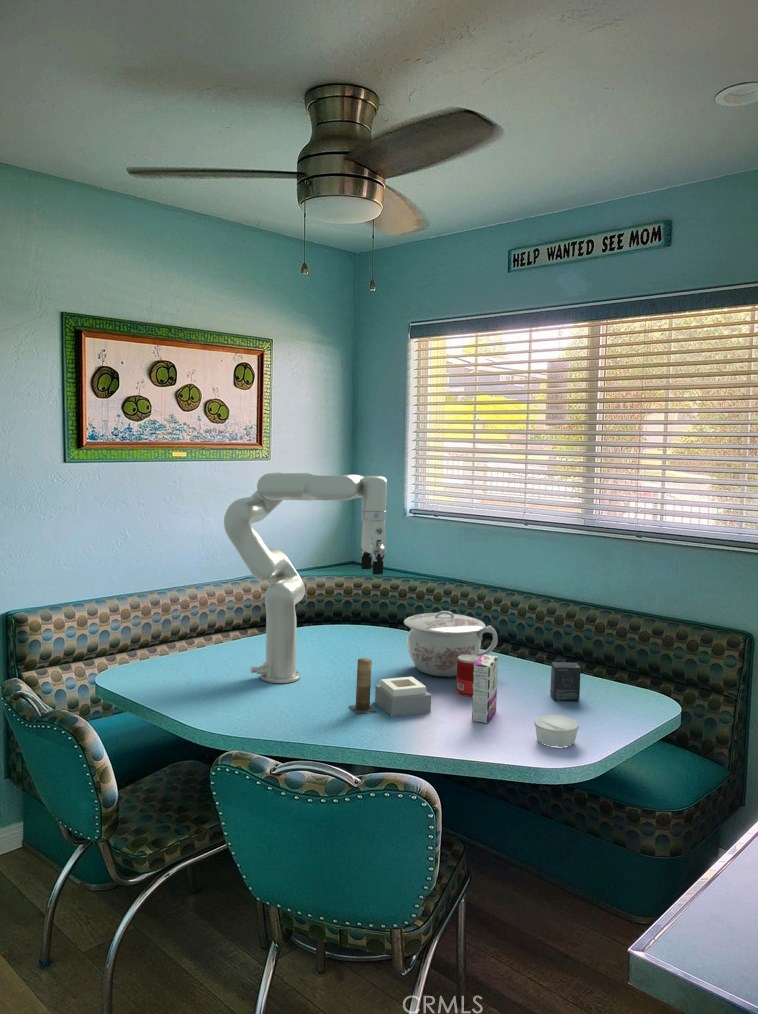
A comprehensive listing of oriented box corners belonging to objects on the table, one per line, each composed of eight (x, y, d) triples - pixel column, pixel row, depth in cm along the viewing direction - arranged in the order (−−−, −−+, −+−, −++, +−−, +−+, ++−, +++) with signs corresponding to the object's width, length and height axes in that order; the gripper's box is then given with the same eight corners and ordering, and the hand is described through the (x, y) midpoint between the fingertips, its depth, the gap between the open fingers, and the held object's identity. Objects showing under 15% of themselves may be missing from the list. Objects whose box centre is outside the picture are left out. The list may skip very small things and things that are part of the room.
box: (574, 695, 242) (576, 662, 241) (579, 701, 237) (581, 667, 236) (549, 694, 242) (551, 661, 241) (553, 700, 237) (555, 666, 236)
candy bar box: (479, 709, 227) (481, 653, 226) (496, 711, 225) (499, 655, 224) (470, 721, 217) (472, 663, 215) (488, 724, 215) (490, 666, 214)
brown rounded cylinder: (371, 709, 222) (373, 661, 221) (358, 711, 221) (360, 662, 220) (366, 704, 226) (368, 657, 225) (353, 706, 225) (355, 658, 223)
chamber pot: (384, 669, 263) (386, 608, 262) (439, 655, 282) (441, 598, 281) (447, 690, 243) (450, 624, 242) (501, 673, 262) (504, 613, 261)
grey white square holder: (391, 716, 219) (392, 691, 218) (375, 701, 231) (375, 678, 230) (430, 712, 223) (431, 688, 223) (412, 697, 235) (412, 674, 235)
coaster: (356, 714, 220) (356, 712, 220) (349, 707, 225) (349, 705, 225) (376, 711, 222) (376, 710, 222) (368, 705, 227) (368, 703, 227)
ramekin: (530, 746, 201) (531, 726, 200) (537, 731, 211) (538, 712, 211) (574, 753, 197) (575, 733, 196) (580, 738, 207) (581, 719, 207)
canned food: (481, 697, 237) (482, 662, 236) (454, 695, 239) (456, 659, 238) (482, 689, 245) (484, 655, 244) (457, 687, 246) (458, 653, 245)
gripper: (395, 519, 233) (393, 576, 235) (374, 513, 249) (373, 566, 251) (372, 519, 230) (370, 577, 232) (352, 513, 246) (351, 567, 248)
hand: (371, 571), depth 241 cm, fingers open, 9 cm apart
